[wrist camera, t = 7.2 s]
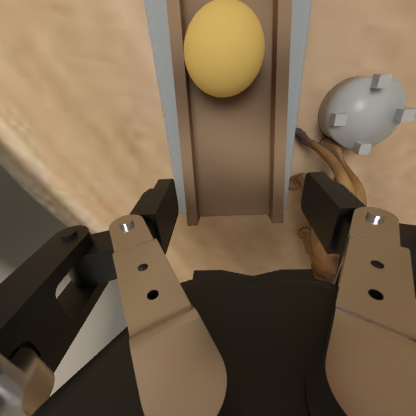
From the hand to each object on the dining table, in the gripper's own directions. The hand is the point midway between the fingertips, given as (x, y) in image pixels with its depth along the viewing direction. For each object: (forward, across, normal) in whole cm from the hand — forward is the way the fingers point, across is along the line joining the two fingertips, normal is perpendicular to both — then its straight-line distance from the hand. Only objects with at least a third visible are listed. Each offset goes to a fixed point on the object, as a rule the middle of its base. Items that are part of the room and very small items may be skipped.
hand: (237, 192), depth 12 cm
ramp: (+5, 0, -4) cm, 7 cm away
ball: (+2, 0, -6) cm, 7 cm away
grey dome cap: (+8, -9, -2) cm, 12 cm away
